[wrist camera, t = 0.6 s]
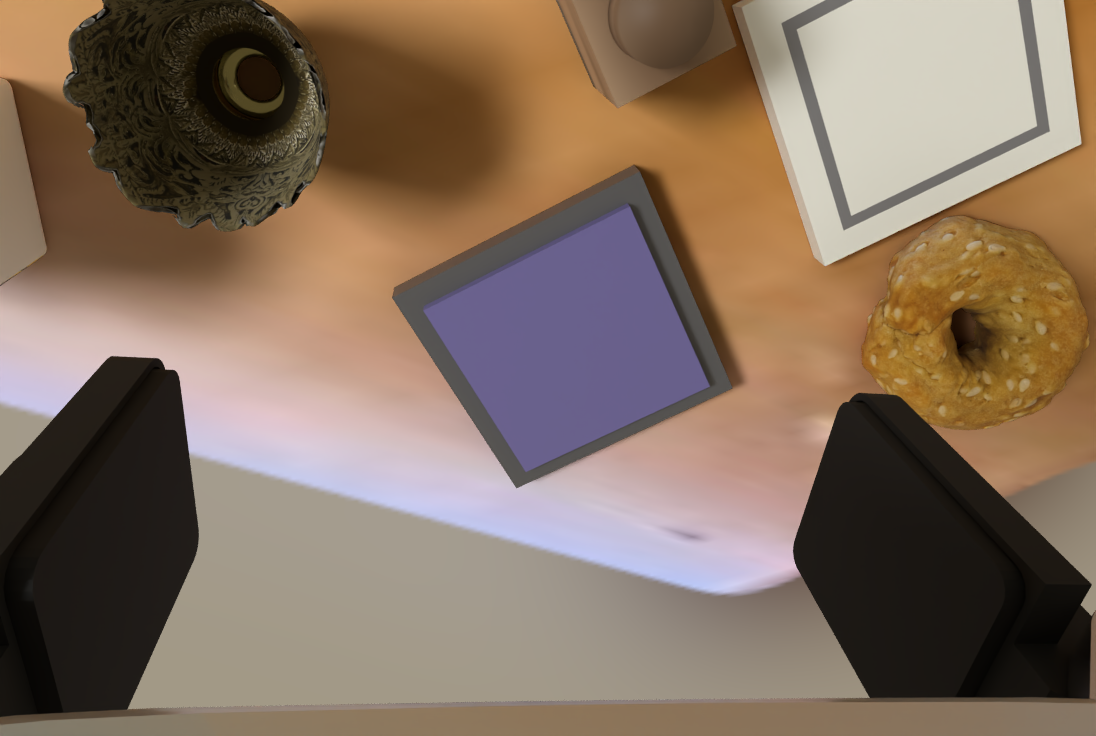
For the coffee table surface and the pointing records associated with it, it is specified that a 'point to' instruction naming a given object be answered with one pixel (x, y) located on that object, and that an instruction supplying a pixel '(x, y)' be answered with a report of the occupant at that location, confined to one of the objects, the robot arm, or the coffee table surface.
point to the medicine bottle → (16, 195)
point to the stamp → (644, 41)
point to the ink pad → (567, 329)
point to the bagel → (1001, 325)
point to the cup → (199, 107)
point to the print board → (906, 104)
